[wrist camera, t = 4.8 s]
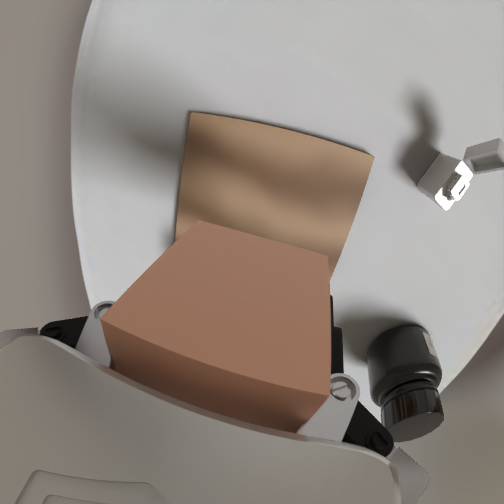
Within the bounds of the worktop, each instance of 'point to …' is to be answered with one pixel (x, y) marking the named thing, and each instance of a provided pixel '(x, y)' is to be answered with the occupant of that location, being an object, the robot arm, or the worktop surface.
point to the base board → (271, 183)
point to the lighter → (460, 172)
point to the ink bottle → (406, 382)
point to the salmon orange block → (229, 327)
